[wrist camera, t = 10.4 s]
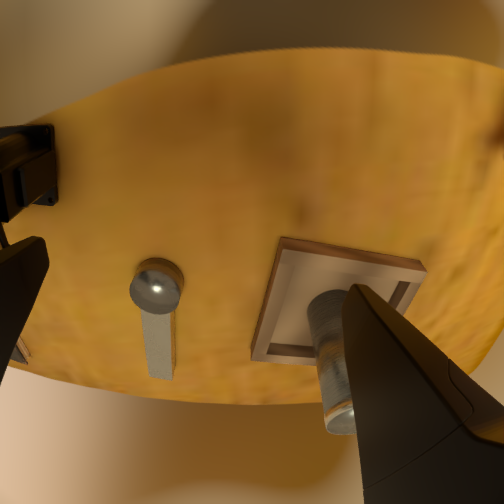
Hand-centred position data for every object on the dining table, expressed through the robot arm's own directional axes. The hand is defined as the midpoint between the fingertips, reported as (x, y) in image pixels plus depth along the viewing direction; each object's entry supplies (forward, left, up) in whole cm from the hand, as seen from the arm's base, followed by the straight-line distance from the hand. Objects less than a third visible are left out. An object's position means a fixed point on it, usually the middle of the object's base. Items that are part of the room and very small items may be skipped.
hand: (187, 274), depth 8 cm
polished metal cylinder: (+11, -12, -13) cm, 21 cm away
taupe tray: (+11, -12, -14) cm, 21 cm away
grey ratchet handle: (-4, -17, -13) cm, 22 cm away
